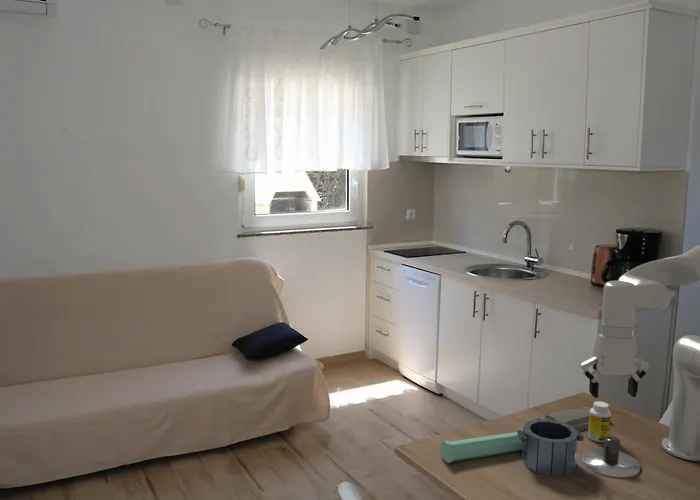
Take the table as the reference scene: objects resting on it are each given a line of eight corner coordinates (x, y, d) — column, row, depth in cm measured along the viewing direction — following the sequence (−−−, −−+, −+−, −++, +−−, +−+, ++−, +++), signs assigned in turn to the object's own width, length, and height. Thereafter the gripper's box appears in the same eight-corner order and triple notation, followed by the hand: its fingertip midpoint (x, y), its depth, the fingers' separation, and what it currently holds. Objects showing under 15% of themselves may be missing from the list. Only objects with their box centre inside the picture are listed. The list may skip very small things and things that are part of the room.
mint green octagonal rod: (525, 424, 177) (443, 435, 169) (536, 440, 172) (452, 453, 164) (519, 439, 180) (438, 451, 172) (530, 455, 175) (447, 469, 167)
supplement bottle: (600, 445, 178) (603, 409, 176) (583, 437, 182) (586, 402, 181) (613, 439, 181) (616, 405, 179) (596, 432, 185) (598, 398, 184)
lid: (624, 451, 175) (626, 426, 174) (650, 478, 161) (653, 451, 160) (573, 452, 174) (574, 427, 173) (595, 479, 160) (597, 453, 159)
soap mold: (612, 425, 191) (613, 414, 191) (559, 437, 183) (559, 426, 183) (586, 411, 201) (587, 401, 200) (534, 423, 192) (535, 411, 192)
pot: (568, 450, 174) (570, 418, 173) (588, 475, 162) (591, 441, 160) (510, 451, 174) (512, 419, 172) (526, 476, 161) (528, 442, 159)
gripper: (644, 325, 166) (639, 389, 169) (577, 326, 165) (573, 390, 168) (658, 334, 158) (653, 400, 161) (588, 335, 158) (584, 402, 161)
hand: (612, 395), depth 165 cm, fingers open, 9 cm apart
